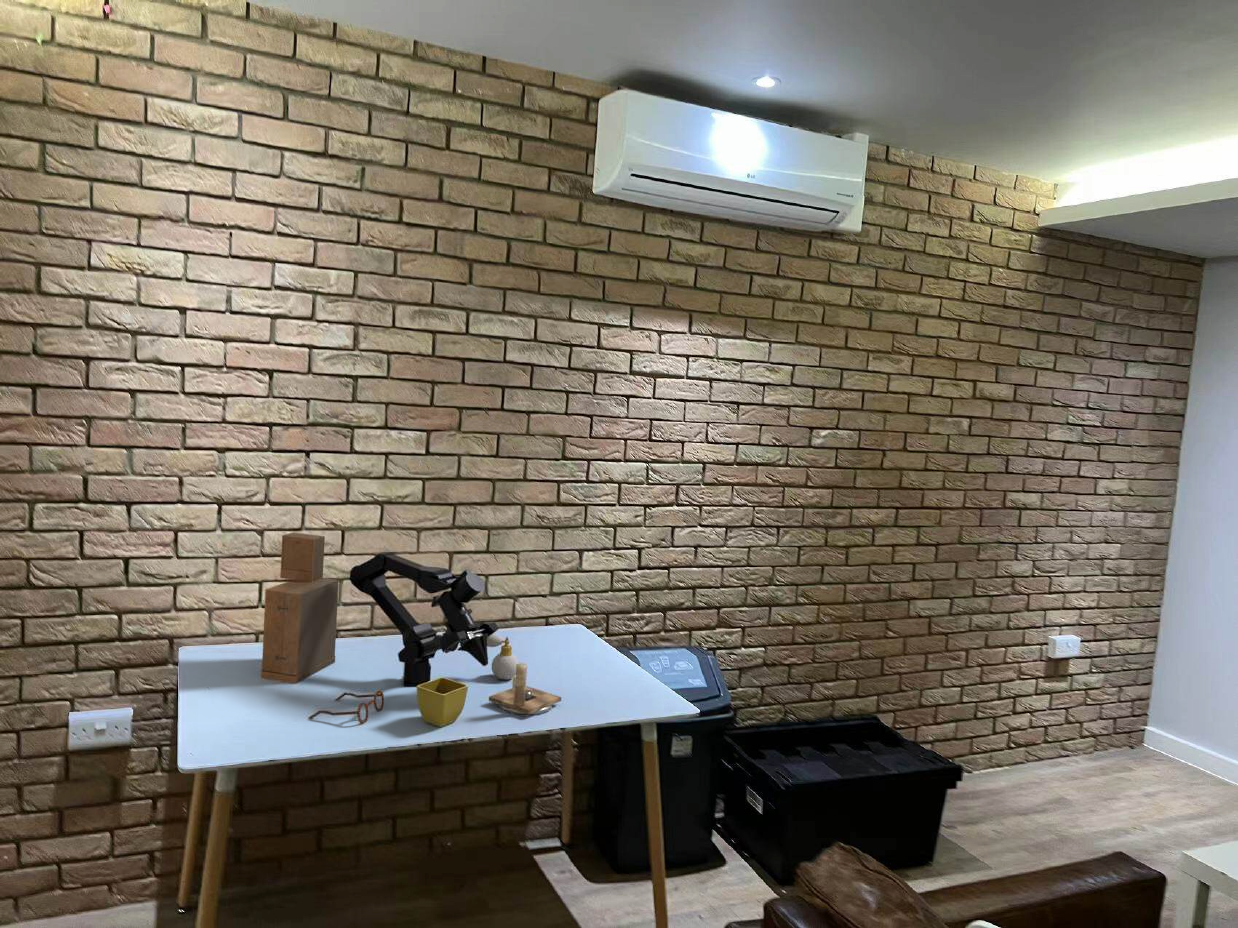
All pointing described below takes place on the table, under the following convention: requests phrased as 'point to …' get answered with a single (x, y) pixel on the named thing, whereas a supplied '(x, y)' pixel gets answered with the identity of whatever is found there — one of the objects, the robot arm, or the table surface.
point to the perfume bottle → (503, 658)
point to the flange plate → (530, 704)
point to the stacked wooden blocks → (300, 613)
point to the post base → (527, 698)
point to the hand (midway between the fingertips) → (486, 665)
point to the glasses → (358, 707)
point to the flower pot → (441, 700)
